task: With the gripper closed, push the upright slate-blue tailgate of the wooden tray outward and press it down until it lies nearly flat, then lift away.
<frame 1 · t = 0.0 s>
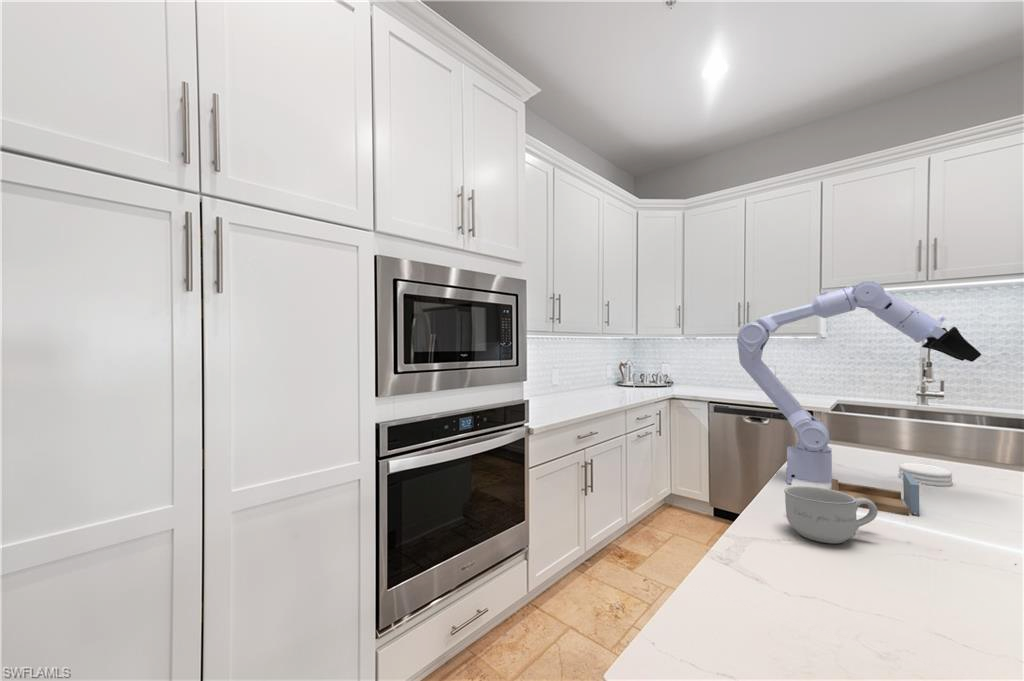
hand: (971, 357, 90), 32 cm above the counter, tool tilted 50°, fingers open, 7 cm apart
teacup: (830, 539, 77), on the counter
tailgate: (911, 494, 87), point 4 cm above the counter, hinge at 0.0°
coaster: (924, 482, 110), on the counter
wooden tray: (866, 507, 91), on the counter
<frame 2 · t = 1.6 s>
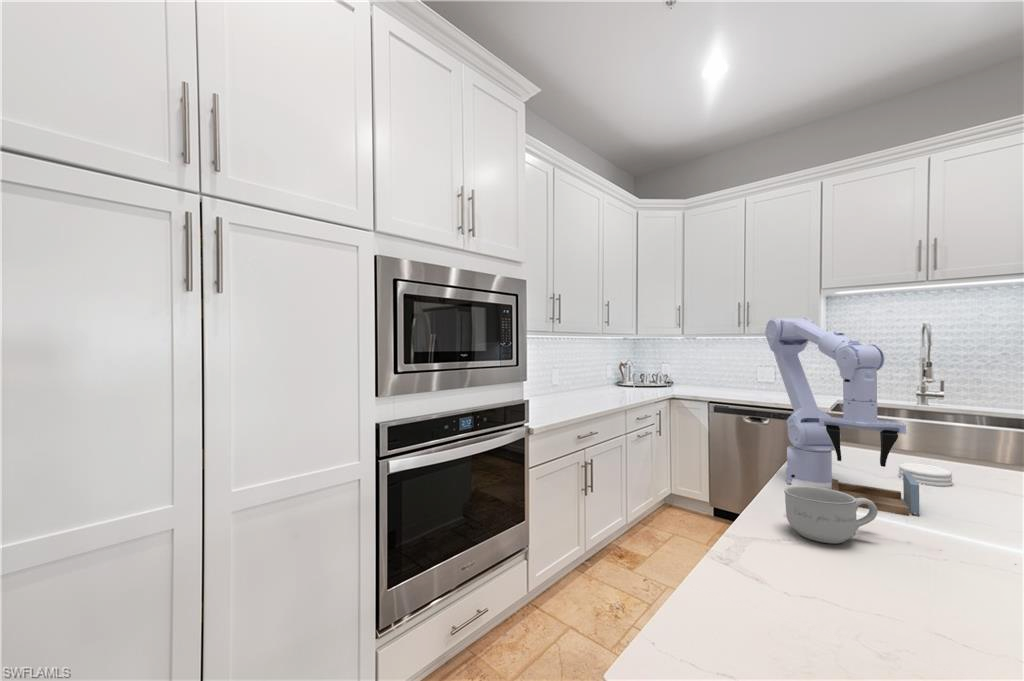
hand: (860, 462, 92), 9 cm above the counter, tool pointing down, fingers open, 7 cm apart
nothing on the counter moved.
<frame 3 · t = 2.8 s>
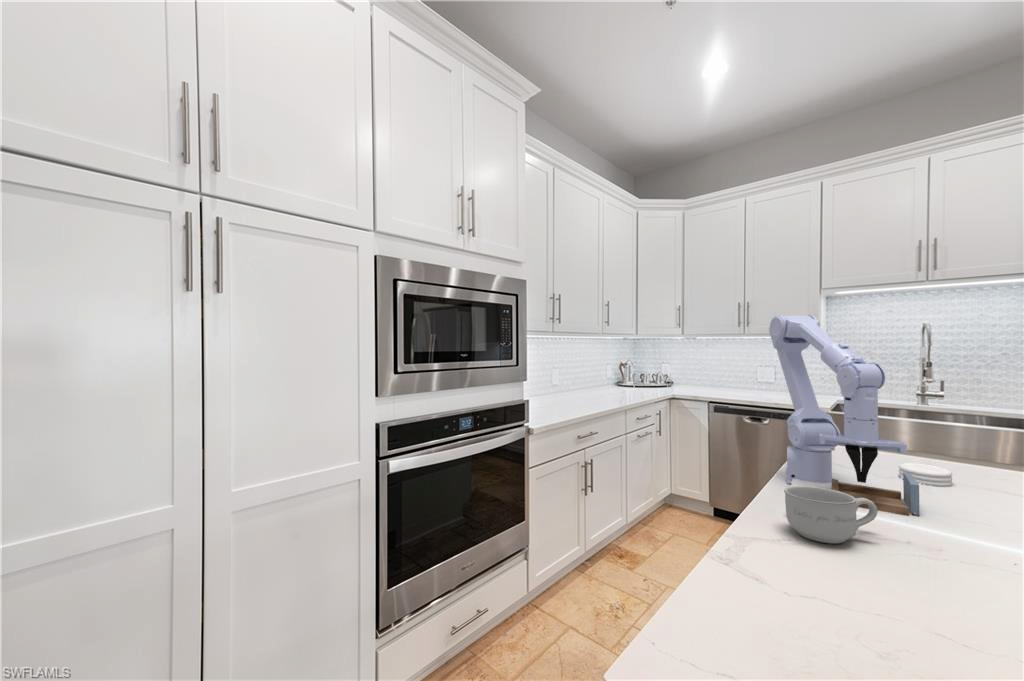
hand: (861, 481, 92), 5 cm above the counter, tool pointing down, fingers closed
nothing on the counter moved.
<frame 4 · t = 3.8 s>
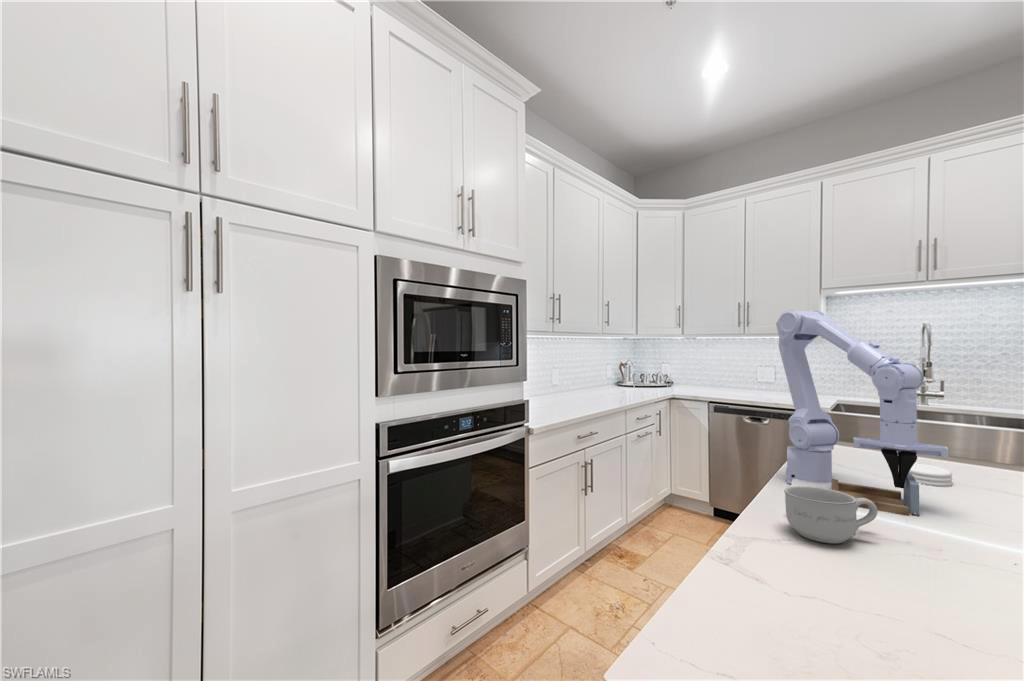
hand: (898, 486, 88), 5 cm above the counter, tool pointing down, fingers closed, pressing on tailgate
tailgate: (911, 494, 87), point 4 cm above the counter, hinge at 0.0°, touching gripper
everything else where it was.
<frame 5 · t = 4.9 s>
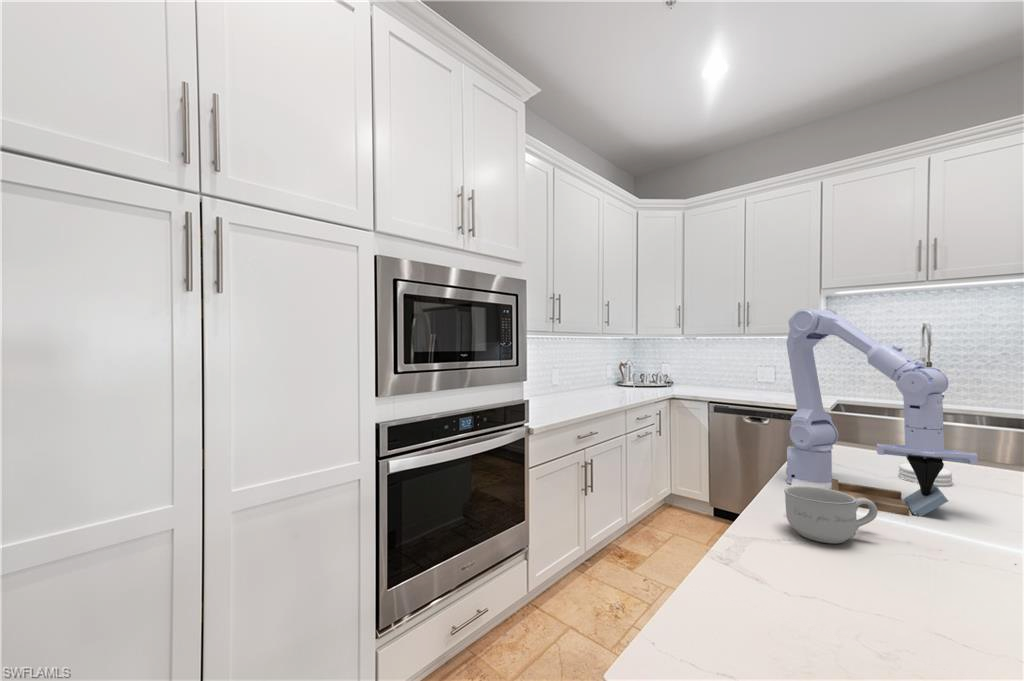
hand: (925, 494, 86), 5 cm above the counter, tool pointing down, fingers closed, pressing on tailgate
tailgate: (924, 500, 86), point 3 cm above the counter, hinge at 44.9°, touching gripper
everything else where it was.
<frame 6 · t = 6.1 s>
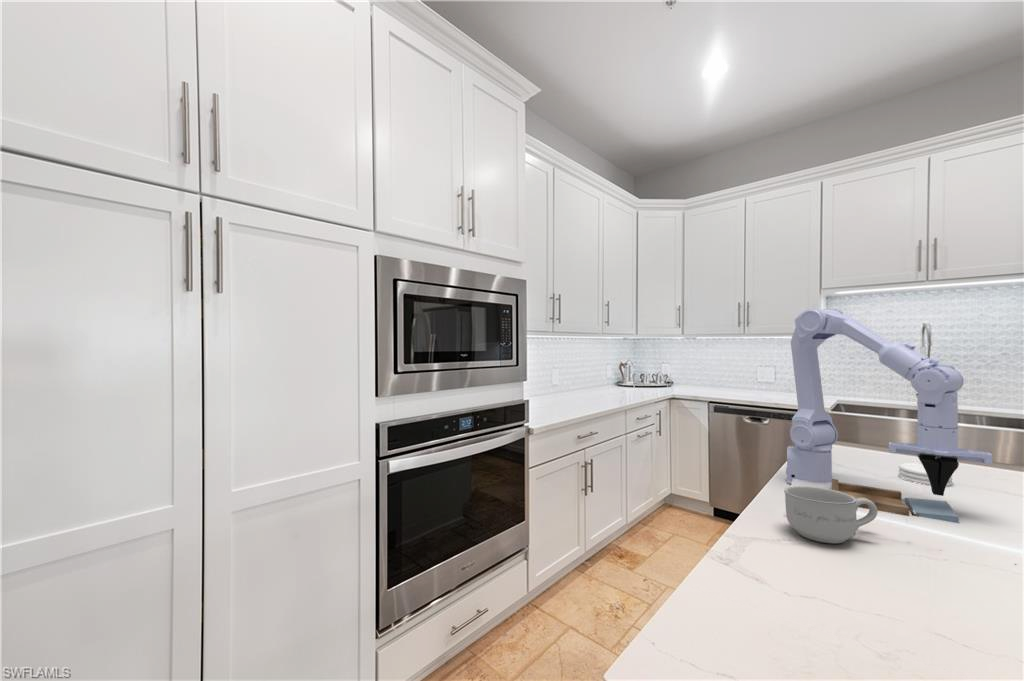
hand: (937, 493, 85), 5 cm above the counter, tool pointing down, fingers closed
tailgate: (929, 509, 85), point 2 cm above the counter, hinge at 84.5°
everything else where it was.
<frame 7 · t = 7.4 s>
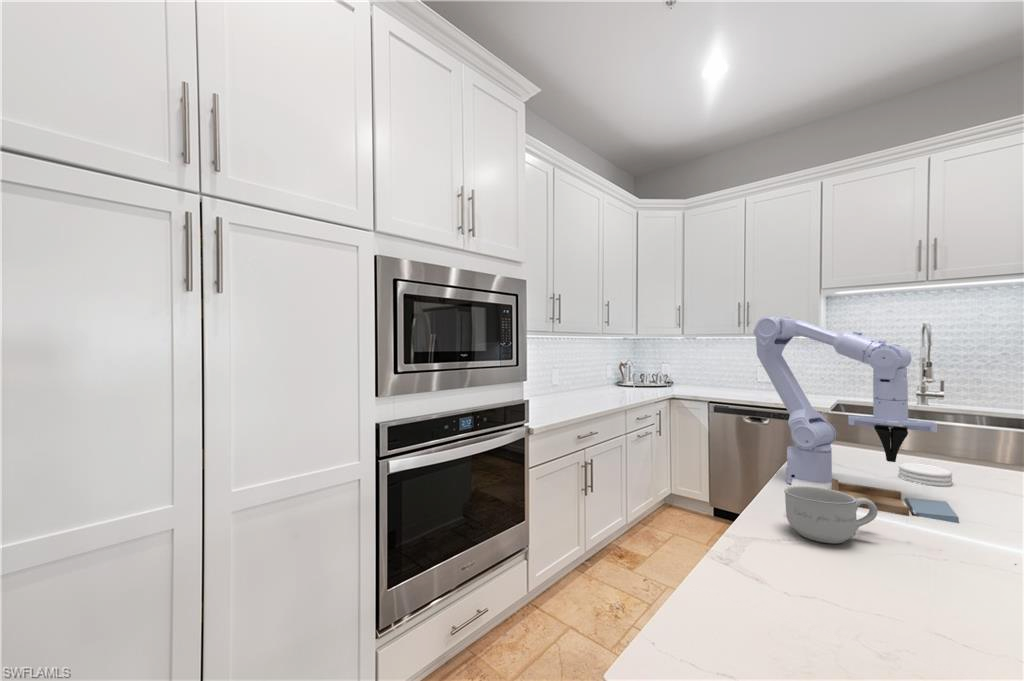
hand: (890, 460, 93), 9 cm above the counter, tool pointing down, fingers closed
tailgate: (929, 509, 85), point 2 cm above the counter, hinge at 85.0°
everything else where it was.
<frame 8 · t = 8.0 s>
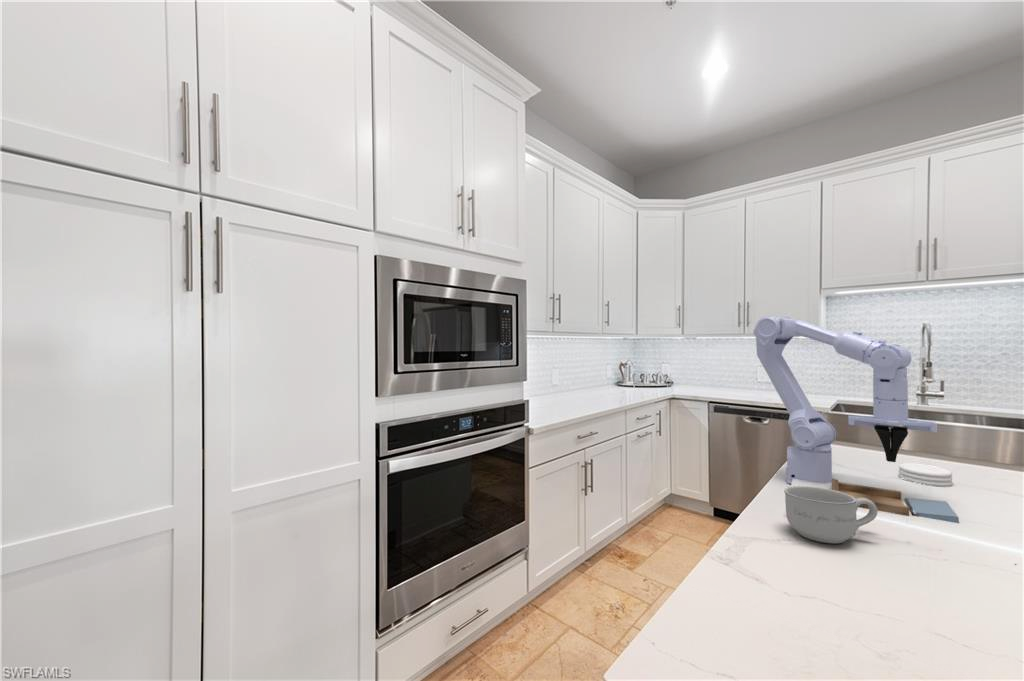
hand: (890, 460, 93), 9 cm above the counter, tool pointing down, fingers closed
nothing on the counter moved.
at the end: tailgate at +85° (first picture: +0°); teacup moved 0.3 cm from its start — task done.
